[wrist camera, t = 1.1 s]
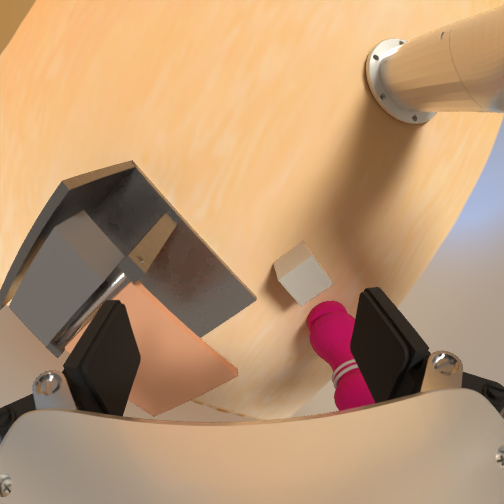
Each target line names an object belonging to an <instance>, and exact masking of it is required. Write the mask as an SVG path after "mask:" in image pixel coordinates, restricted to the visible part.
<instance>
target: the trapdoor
mask: <svg viewBox="0 0 504 504" xmlns="http://www.w3.org/2000/svg"><path fill="white" fill-rule="evenodd" d="M124 257H125V256H124V255H123V253H122V252H121V251H120V250H119V249H118V248H117V247H116V246H115V245H114V244H113V243H112V242H111V240H110V239H109V238H108V237H107V236H106V235H105V234H104V233H103V232H102V230H101V229H100V228H99V227H98V226H97V225H96V224H95V222H94V221H93V220H92V219H91V218H90V217H89V215H88V214H87V213H86V212H85V211H84V210H83V211H81V212H79V213H78V214H76V215H74V216H72V217H71V218H69V219H67V220H66V221H64V222H62V223H60V224H59V225H57V226H55V227H54V229H53V230H52V232H51V233H50V235H49V236H48V238H47V239H46V241H45V242H44V244H43V245H42V247H41V249H40V250H39V252H38V254H37V255H36V257H35V258H34V260H33V262H32V264H31V265H30V267H29V269H28V271H27V272H26V274H25V276H24V278H23V280H22V281H21V283H20V285H19V287H18V289H17V291H16V293H15V295H14V297H13V299H12V301H11V303H10V305H9V308H10V309H11V310H12V311H13V312H14V313H15V315H16V316H17V317H18V318H19V319H20V320H21V321H22V322H23V323H24V325H26V327H28V329H29V330H30V331H31V332H32V333H33V334H34V335H35V336H36V337H37V338H38V339H39V340H40V341H41V342H42V343H43V344H44V345H45V346H47V345H48V344H49V343H50V341H51V340H52V339H53V338H54V337H55V335H56V334H57V333H58V332H59V331H60V329H61V328H62V327H63V326H64V325H65V324H66V322H67V321H68V320H69V319H70V318H71V317H72V316H73V314H74V313H75V312H76V311H77V310H78V309H79V308H80V307H81V306H82V304H83V303H84V302H85V301H86V300H87V299H88V298H89V297H90V296H91V295H92V294H93V292H94V291H95V290H96V289H97V288H98V287H99V286H100V285H101V284H102V283H103V282H104V281H105V279H106V278H107V277H108V276H109V275H110V273H111V272H112V271H113V270H114V269H115V267H116V266H117V265H118V264H119V263H120V261H121V260H122V259H123V258H124ZM111 300H120V301H121V303H122V304H125V306H126V310H127V313H128V317H129V320H130V324H131V327H132V330H133V333H134V337H135V340H136V343H137V346H138V349H139V352H140V355H141V362H140V365H139V368H138V371H137V374H136V377H135V379H134V382H133V385H132V388H131V391H130V395H129V398H128V400H130V401H131V402H133V403H134V404H135V405H137V406H138V407H140V408H142V409H143V410H144V411H146V412H147V413H149V414H151V415H152V416H156V415H158V414H161V413H163V412H165V411H167V410H170V409H172V408H174V407H176V406H179V405H181V404H183V403H185V402H187V401H189V400H191V399H193V398H196V397H198V396H200V395H202V394H204V393H206V392H208V391H210V390H212V389H214V388H216V387H217V386H219V385H221V384H223V383H225V382H227V381H229V380H231V379H233V378H234V377H236V376H238V369H237V368H236V367H235V366H233V365H232V364H231V363H230V362H228V361H227V360H226V359H225V358H223V357H222V356H221V355H220V354H218V353H217V352H216V351H215V350H214V349H212V348H211V347H210V346H209V345H208V344H207V343H205V342H204V341H203V340H202V339H201V338H200V337H198V336H197V335H196V334H195V333H194V332H193V331H191V330H190V329H189V328H188V327H187V326H186V325H185V324H184V323H182V322H181V321H180V320H179V319H178V318H177V317H176V316H175V315H174V314H173V313H172V312H170V311H169V310H168V309H167V308H166V307H165V306H164V305H163V304H162V303H161V302H160V301H159V300H158V299H157V298H156V297H155V296H153V295H152V294H151V293H150V292H149V291H148V290H147V289H146V288H145V287H144V286H143V285H142V284H141V283H140V282H139V281H136V282H135V283H133V282H132V281H130V282H128V283H127V284H126V285H125V286H124V287H123V288H122V289H121V290H120V291H119V292H118V293H117V294H116V295H115V296H114V297H113V298H112V299H111ZM95 315H96V314H95ZM95 315H94V316H95ZM94 316H93V317H92V318H91V319H90V320H89V321H88V322H87V323H86V324H85V325H84V326H83V327H82V328H81V329H80V330H79V331H78V333H77V334H76V335H75V336H74V337H73V338H72V339H71V340H70V341H69V342H68V343H67V344H66V346H65V349H66V350H67V351H68V352H69V353H70V354H71V352H72V350H73V349H74V347H75V345H76V344H77V342H78V341H79V339H80V338H81V336H82V334H83V333H84V331H85V330H86V328H87V327H88V325H89V324H90V322H91V321H92V319H93V318H94Z"/></svg>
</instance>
